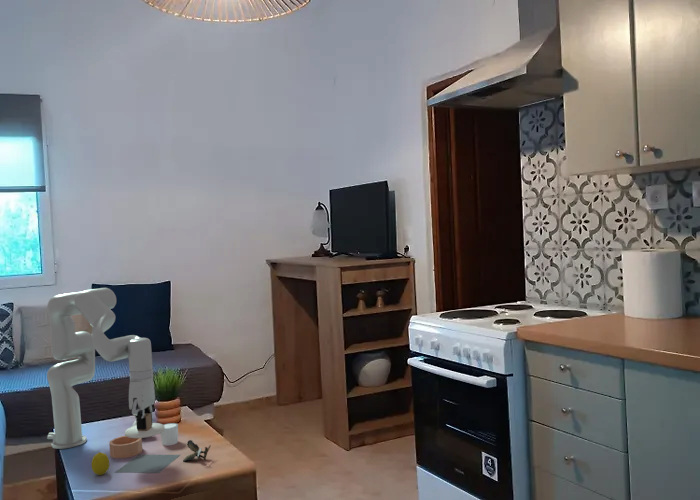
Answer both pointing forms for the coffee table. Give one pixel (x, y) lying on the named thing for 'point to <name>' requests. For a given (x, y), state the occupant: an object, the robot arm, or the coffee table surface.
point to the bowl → (125, 447)
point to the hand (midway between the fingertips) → (144, 426)
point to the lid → (148, 432)
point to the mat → (147, 464)
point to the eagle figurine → (196, 451)
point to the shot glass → (169, 434)
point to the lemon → (100, 463)
